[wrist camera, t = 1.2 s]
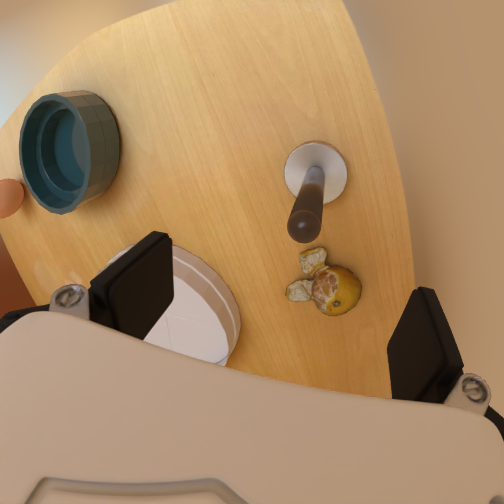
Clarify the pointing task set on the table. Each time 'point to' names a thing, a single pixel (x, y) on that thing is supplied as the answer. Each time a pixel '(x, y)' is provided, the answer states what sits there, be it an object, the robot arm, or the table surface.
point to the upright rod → (313, 186)
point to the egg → (10, 197)
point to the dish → (196, 312)
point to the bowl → (68, 150)
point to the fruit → (325, 284)
